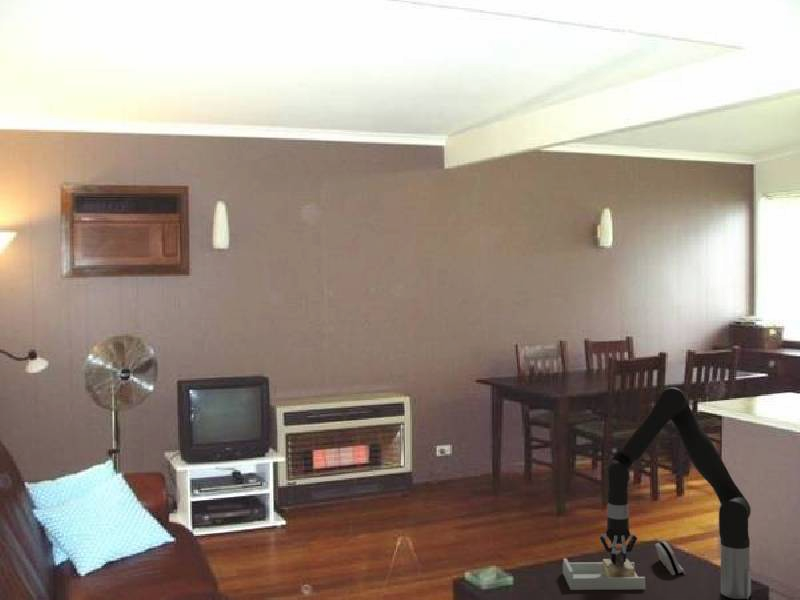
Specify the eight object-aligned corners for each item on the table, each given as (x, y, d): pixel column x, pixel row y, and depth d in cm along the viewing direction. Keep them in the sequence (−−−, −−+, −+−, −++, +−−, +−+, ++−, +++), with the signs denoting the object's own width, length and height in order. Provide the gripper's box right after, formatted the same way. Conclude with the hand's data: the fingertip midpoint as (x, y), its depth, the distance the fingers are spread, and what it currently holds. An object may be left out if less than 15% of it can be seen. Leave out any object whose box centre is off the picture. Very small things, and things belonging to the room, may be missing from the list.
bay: (633, 572, 307) (633, 556, 307) (645, 589, 291) (645, 572, 291) (562, 573, 307) (562, 557, 307) (570, 589, 292) (570, 572, 291)
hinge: (686, 575, 304) (676, 549, 303) (673, 579, 304) (664, 554, 304) (673, 559, 320) (664, 535, 320) (661, 563, 320) (652, 539, 320)
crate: (627, 572, 304) (627, 547, 303) (634, 582, 294) (634, 557, 293) (602, 572, 304) (602, 548, 304) (608, 582, 294) (608, 557, 294)
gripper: (634, 512, 302) (635, 559, 302) (596, 512, 302) (596, 559, 303) (640, 518, 294) (640, 566, 295) (600, 518, 295) (600, 566, 295)
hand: (618, 562), depth 299 cm, fingers closed on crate, 2 cm apart
